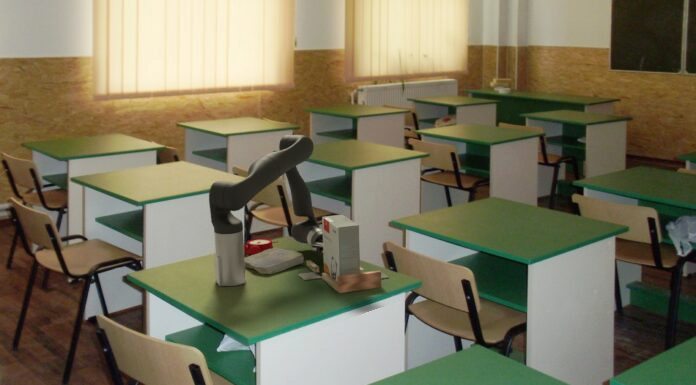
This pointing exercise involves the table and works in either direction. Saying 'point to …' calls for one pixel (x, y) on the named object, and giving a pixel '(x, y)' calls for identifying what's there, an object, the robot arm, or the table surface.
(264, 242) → the alarm clock
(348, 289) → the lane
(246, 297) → the table surface
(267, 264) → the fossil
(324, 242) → the hard drive box
